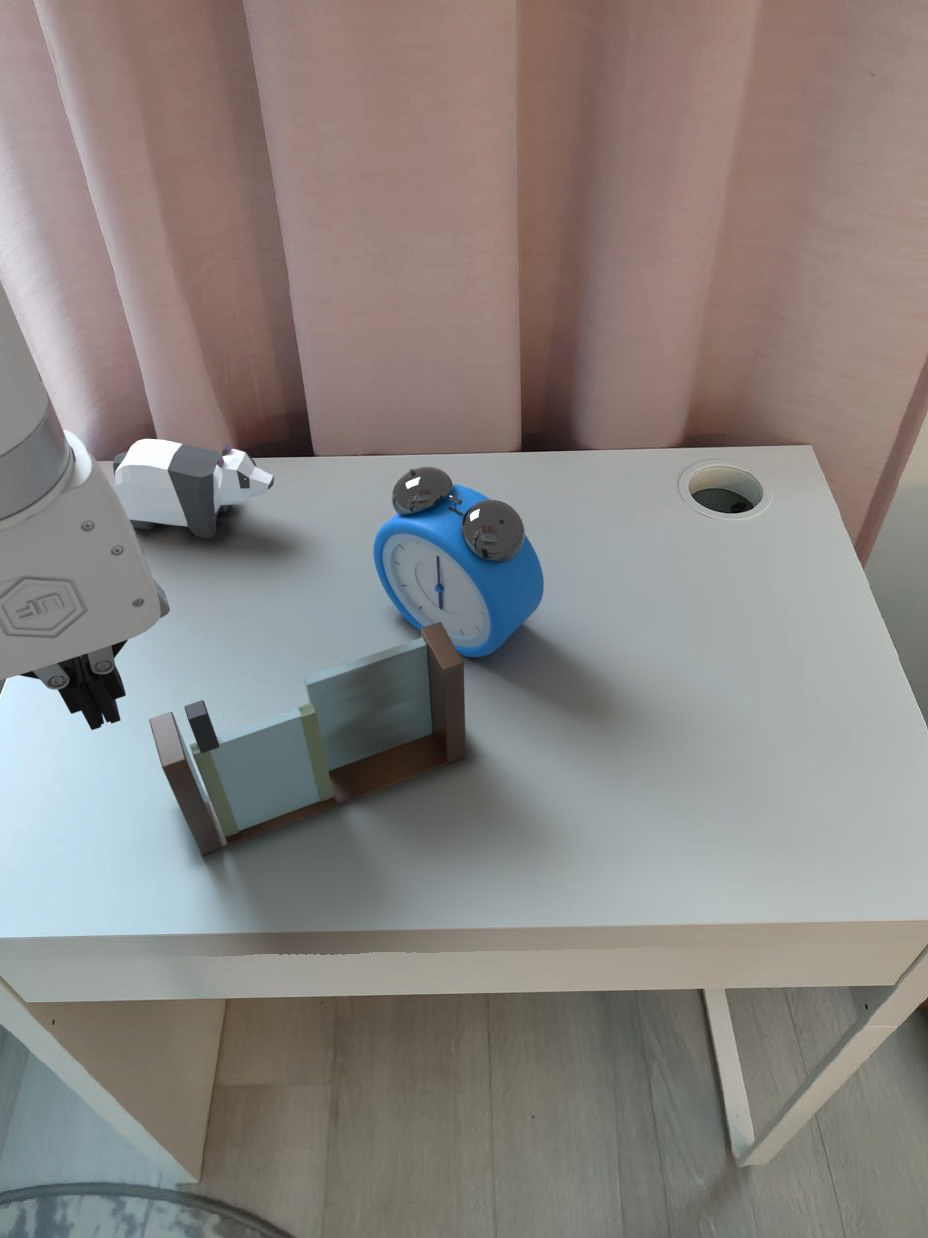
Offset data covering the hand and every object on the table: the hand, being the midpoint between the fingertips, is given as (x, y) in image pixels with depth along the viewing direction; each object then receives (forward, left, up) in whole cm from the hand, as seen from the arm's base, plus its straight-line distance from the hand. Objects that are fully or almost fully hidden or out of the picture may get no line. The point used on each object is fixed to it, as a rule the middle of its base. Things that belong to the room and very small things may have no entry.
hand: (102, 706), depth 56 cm
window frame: (+12, +1, -19) cm, 22 cm away
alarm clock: (+27, +12, -19) cm, 35 cm away
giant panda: (+10, +33, -19) cm, 39 cm away
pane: (+8, 0, -17) cm, 19 cm away
